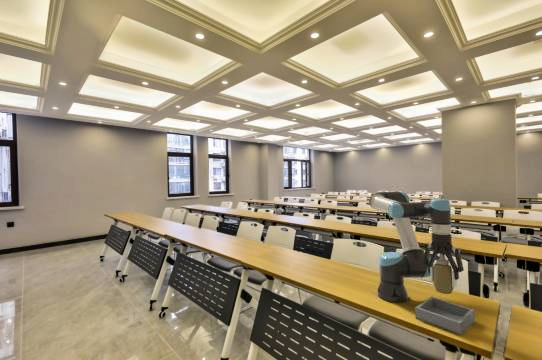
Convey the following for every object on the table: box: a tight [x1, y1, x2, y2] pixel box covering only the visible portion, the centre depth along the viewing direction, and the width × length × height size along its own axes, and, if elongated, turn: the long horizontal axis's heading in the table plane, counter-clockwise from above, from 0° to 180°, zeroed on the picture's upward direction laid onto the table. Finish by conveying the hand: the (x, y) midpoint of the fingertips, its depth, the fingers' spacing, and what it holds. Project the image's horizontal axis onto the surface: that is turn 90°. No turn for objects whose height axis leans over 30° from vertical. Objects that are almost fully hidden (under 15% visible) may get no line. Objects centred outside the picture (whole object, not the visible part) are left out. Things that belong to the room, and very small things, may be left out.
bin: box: [414, 296, 476, 337], centre depth 116 cm, size 17×17×5 cm
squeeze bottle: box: [432, 254, 455, 295], centre depth 116 cm, size 8×8×18 cm
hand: (443, 283), depth 116 cm, fingers closed on squeeze bottle, 8 cm apart
